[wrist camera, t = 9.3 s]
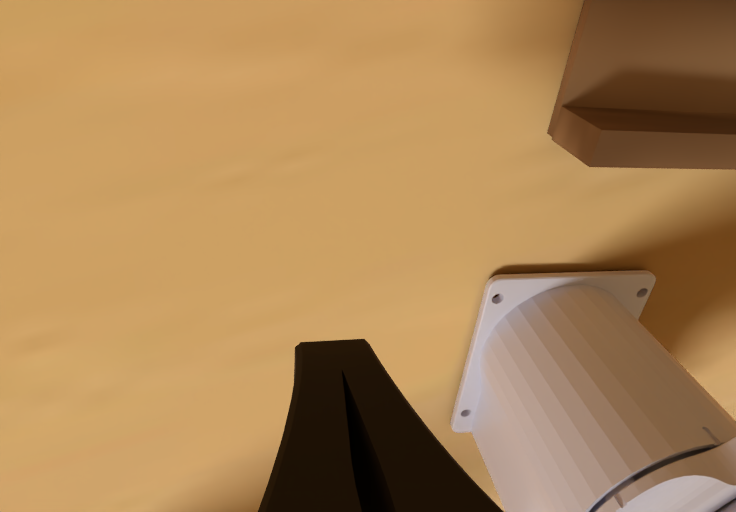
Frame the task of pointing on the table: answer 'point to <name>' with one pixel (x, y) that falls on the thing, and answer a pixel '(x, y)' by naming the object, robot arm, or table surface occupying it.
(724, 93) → the chute
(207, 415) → the table surface
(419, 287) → the table surface
